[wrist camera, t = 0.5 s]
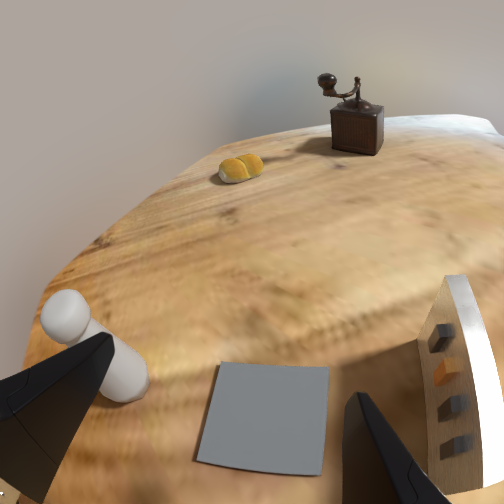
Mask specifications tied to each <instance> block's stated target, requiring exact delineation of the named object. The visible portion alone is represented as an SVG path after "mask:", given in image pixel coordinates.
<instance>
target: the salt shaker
mask: <svg viewBox="0 0 504 504" xmlns="http://www.w3.org/2000/svg"><path fill="white" fill-rule="evenodd" d="M40 323H41V325H42V328H43V330H44V331H45V333H46V334H47V335H48V336H49V337H50V338H51V339H52V340H54V341H56V342H58V343H60V344H66V345H67V347H68V348H69V347H71V346H73V345H75V344H77V343H79V342H81V341H83V340H85V339H87V338H89V337H91V336H93V335H95V334H97V333H99V332H102V331H104V332H107V333H109V334H112V333H111V332H110V331H108V330H107V329H106V328H105V327H103V326H102V325H101V324H99V323H98V322H97V321H96V320H94V319H93V318H92V317H91V310H90V307H89V306H88V304H87V302H86V301H85V299H84V298H83V296H82V295H81V294H80V293H79V292H78V291H76V290H72V289H65V290H61V291H58V292H57V293H55V294H54V295H52V296H51V297H50V298H49V299H48V300H47V301H46V303H45V305H44V307H43V308H42V312H41V317H40ZM112 336H113V340H114V346H115V354H114V357H113V359H112V361H111V364H110V366H109V368H108V371H107V373H106V376H105V378H104V380H103V383H102V385H101V387H100V389H99V391H100V392H101V393H102V395H103V396H105V397H107V398H109V399H111V400H113V401H115V402H125V403H128V402H132V401H135V400H138V399H142V398H143V397H144V395H145V393H146V391H147V389H148V387H149V385H150V380H149V374H148V369H147V364H146V362H145V360H144V359H143V358H142V357H141V355H140V354H139V353H138V352H137V351H135V350H134V349H133V348H131V347H130V346H128V345H127V344H126V343H124V342H123V341H122V340H120V339H119V338H118V337H116V336H115V335H114V334H112Z"/></svg>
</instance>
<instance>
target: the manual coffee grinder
mask: <svg viewBox="0 0 504 504" xmlns="http://www.w3.org/2000/svg"><path fill="white" fill-rule="evenodd" d="M336 83H337V79H336V77H335V76H334V75H332V74H329V73H325V74H321V75H320V76H319V77H318V84H319V86H320V87H322V88H323V95H324V96H330V97H338V98H343V100H344V102H341V103H338V104H337V106H336V107H334V108H333V109H331V110H330V114H331V131H332V148H333V149H337V150H341V151H346V152H352V153H358V154H364V155H372V156H375V155H376V154H377V153H378V151H379V150H380V148H381V146H382V144H383V141H384V106H379V105H372V104H370V103H369V102H367V101H365V100H362V99H361V98H360V86H361V84H360V78H359V77H355V84H354V85H355V87H354V89H353V90H352V91H351V92H349V93H346V94H336V91H335V89H334V86H335V84H336ZM354 93H356V97H355V98H352V99H349V100H346V99H345V98H346V97H350V96H352V95H353V94H354Z"/></svg>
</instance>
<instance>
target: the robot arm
mask: <svg viewBox="0 0 504 504" xmlns="http://www.w3.org/2000/svg"><path fill="white" fill-rule="evenodd" d="M114 354H115V346H114V340H113V336H112V334H109V333H107V332H104V331H102V332H99V333H97V334H95V335H93V336H91V337H89V338H87V339H85V340H83V341H81V342H79V343H77V344H75V345H73V346H71V347H69V348H68V349H66V350H64V351H62V352H60V353H58V354H56V355H54V356H52V357H50V358H48V359H46V360H44V361H42V362H40V363H38V364H36V365H34V366H32V367H31V368H27V369H25V370H23V371H21V372H19V373H17V374H15V375H13V376H10V377H8V378H5V379H3V380H0V504H19V502H18V499H19V497H20V495H21V493H22V494H24V495H25V496H27V497H28V498H30V499H32V500H33V501H35V502H36V503H38V504H42V503H43V501H44V499H45V496H46V494H47V492H48V490H49V487H50V485H51V483H52V481H53V479H54V477H55V474H56V472H57V470H58V468H59V466H60V464H61V462H62V460H63V458H64V455H65V453H66V451H67V449H68V447H69V445H70V443H71V441H72V440H73V438H74V436H75V434H76V432H77V430H78V428H79V426H80V424H81V422H82V420H83V418H84V417H85V415H86V413H87V411H88V409H89V407H90V405H91V404H92V402H93V400H94V398H95V396H96V395H97V393H98V391H99V389H100V387H101V385H102V383H103V380H104V378H105V376H106V373H107V371H108V368H109V366H110V364H111V361H112V359H113V357H114ZM342 461H343V490H342V504H452V503H451V502H450V501H449V500H448V499H447V498H446V497H445V496H444V495H443V494H442V493H441V492H440V491H439V489H438V488H437V487H436V486H435V485H434V484H433V483H432V482H431V480H430V479H429V478H428V477H427V476H426V474H425V473H424V472H423V471H422V469H421V468H420V467H419V465H418V464H417V462H416V461H415V459H413V457H412V455H411V454H410V453H409V451H408V450H407V448H406V447H405V445H404V444H403V443H402V441H401V440H400V438H399V437H398V436H397V434H396V433H395V431H394V430H393V429H392V427H391V426H390V424H389V423H388V422H387V420H386V419H385V417H384V416H383V415H382V413H381V412H380V410H379V409H378V408H377V406H376V405H375V403H374V402H373V401H372V399H371V398H370V396H369V395H368V394H367V393H366V392H363V391H356V392H354V394H353V395H352V397H351V398H350V399H349V401H348V402H347V404H346V407H345V417H344V429H343V441H342Z"/></svg>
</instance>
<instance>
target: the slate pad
mask: <svg viewBox="0 0 504 504" xmlns="http://www.w3.org/2000/svg"><path fill="white" fill-rule="evenodd" d="M328 385H329V367H300V366H275V365H258V364H244V363H232V362H222V361H221V365H220V369H219V373H218V377H217V380H216V384H215V388H214V392H213V396H212V400H211V404H210V408H209V412H208V416H207V420H206V424H205V428H204V432H203V436H202V440H201V444H200V448H199V452H198V456H197V461H200V462H205V463H210V464H215V465H220V466H225V467H231V468H237V469H244V470H251V471H259V472H268V473H279V474H293V475H320V476H321V472H322V464H323V454H324V444H325V432H326V419H327V404H328Z"/></svg>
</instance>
